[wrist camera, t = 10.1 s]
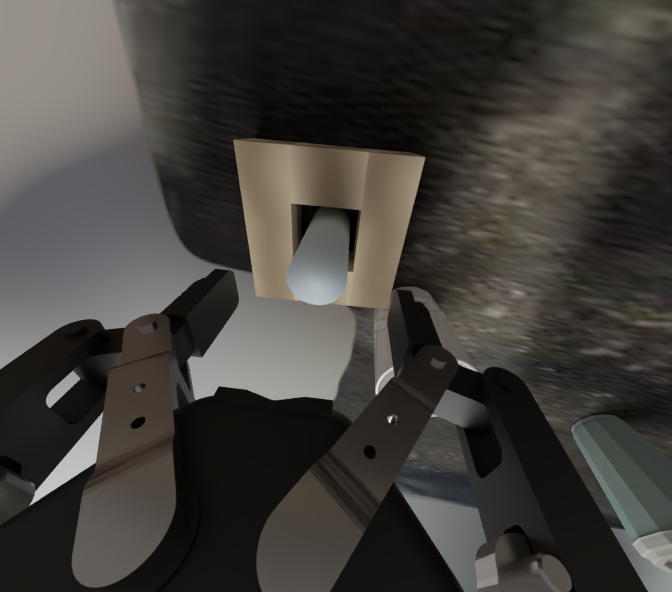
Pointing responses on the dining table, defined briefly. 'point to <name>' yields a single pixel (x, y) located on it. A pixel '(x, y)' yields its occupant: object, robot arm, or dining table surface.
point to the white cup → (441, 325)
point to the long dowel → (321, 258)
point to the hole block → (328, 191)
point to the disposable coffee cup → (631, 482)
